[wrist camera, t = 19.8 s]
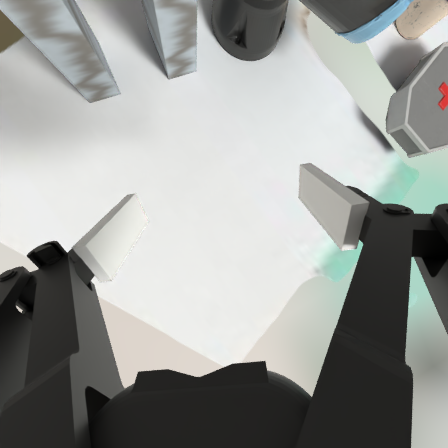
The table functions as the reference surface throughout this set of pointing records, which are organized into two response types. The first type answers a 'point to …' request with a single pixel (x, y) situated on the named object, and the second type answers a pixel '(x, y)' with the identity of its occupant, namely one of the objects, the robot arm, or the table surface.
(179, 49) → the bench
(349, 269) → the table surface
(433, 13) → the teacup with lid
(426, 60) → the first aid kit
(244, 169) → the table surface
